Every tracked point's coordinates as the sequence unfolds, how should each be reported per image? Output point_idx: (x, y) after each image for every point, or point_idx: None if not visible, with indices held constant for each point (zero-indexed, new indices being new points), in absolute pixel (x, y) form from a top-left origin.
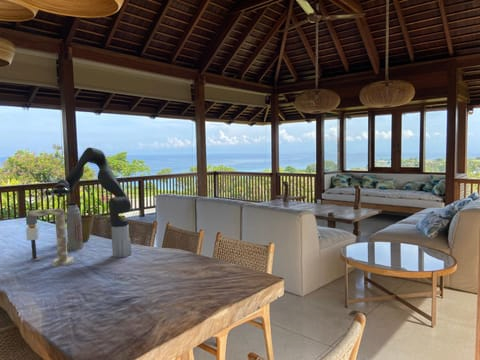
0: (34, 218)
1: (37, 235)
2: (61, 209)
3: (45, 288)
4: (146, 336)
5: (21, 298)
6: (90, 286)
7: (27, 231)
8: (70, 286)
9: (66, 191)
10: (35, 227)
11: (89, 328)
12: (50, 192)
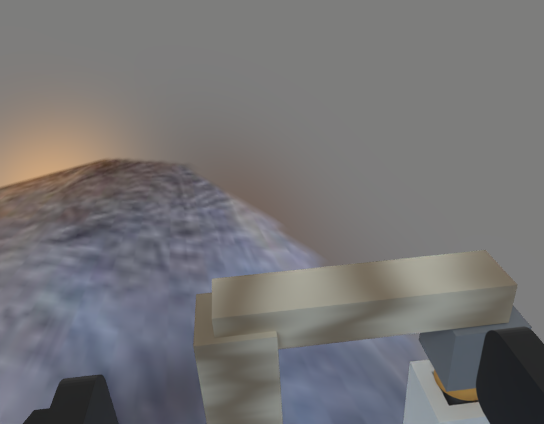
0: None
1: (410, 418)
2: (212, 292)
3: None
4: (91, 174)
5: None
6: (141, 295)
7: None
8: (195, 304)
9: (87, 377)
10: (430, 380)
11: (158, 189)
12: (535, 415)
